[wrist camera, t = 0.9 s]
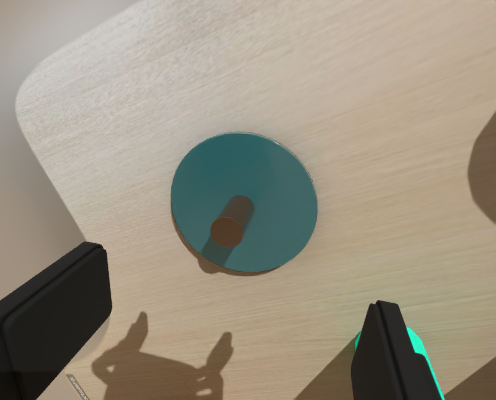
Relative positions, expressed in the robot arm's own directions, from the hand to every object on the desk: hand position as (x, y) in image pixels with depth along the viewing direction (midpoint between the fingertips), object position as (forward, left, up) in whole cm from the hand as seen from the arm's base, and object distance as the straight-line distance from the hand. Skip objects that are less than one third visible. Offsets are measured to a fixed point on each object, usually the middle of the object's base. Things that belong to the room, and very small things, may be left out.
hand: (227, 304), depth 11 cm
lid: (+1, -4, -15) cm, 16 cm away
